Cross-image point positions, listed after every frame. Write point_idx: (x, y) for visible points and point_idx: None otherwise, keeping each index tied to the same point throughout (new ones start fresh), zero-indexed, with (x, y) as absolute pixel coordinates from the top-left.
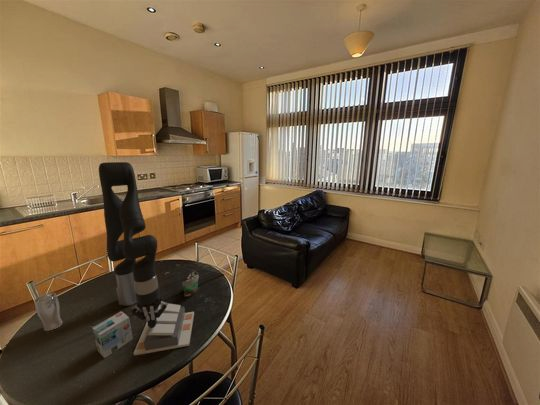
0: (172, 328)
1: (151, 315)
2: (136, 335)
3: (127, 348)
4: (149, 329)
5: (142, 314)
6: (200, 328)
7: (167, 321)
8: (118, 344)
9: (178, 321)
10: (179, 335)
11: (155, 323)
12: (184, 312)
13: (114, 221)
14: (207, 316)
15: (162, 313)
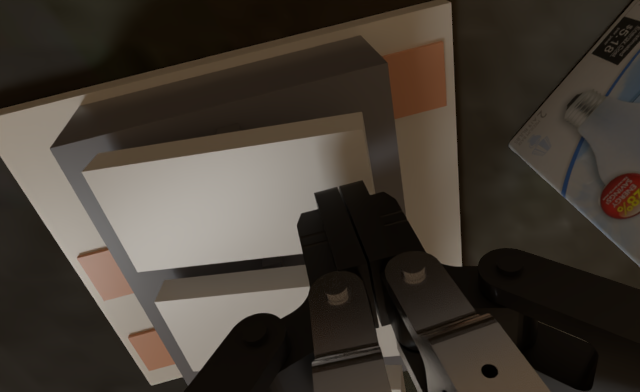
0: (130, 221)
1: (370, 344)
2: (492, 175)
3: (518, 64)
4: (369, 170)
5: (544, 337)
6: (6, 271)
7: (239, 289)
8: (605, 73)
9: None
10: None
11: (303, 236)
12: None
13: None
14: (25, 365)
15: None
